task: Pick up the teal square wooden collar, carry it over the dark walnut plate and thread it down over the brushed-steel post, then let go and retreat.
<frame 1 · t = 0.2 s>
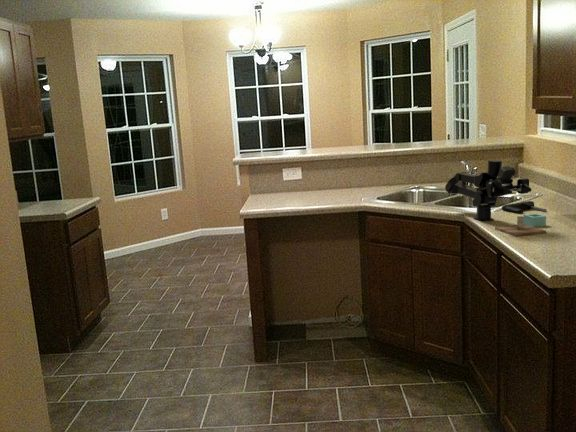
hand: (521, 191, 239), 17 cm above the countertop, tool horizontal, fingers open, 9 cm apart
collar: (534, 224, 253), on the countertop
post plate: (519, 231, 242), on the countertop
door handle: (526, 211, 284), on the countertop
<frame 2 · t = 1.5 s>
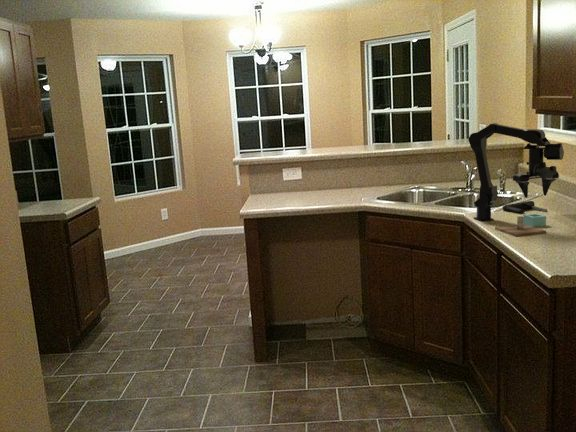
hand: (535, 196, 250), 12 cm above the countertop, tool pointing down, fingers open, 9 cm apart
nothing on the countertop moved.
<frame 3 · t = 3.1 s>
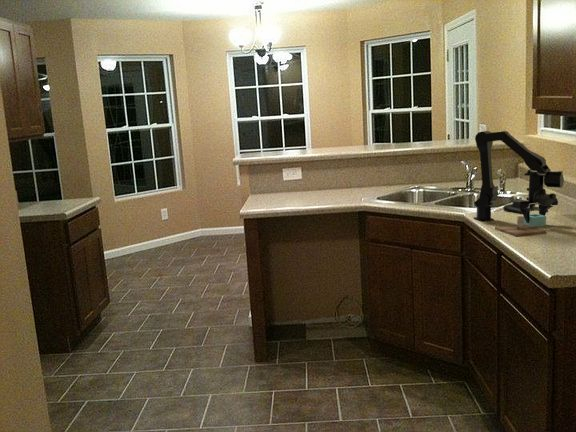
hand: (534, 222, 253), 1 cm above the countertop, tool pointing down, fingers closed on collar, 6 cm apart
collar: (534, 224, 253), on the countertop, touching gripper
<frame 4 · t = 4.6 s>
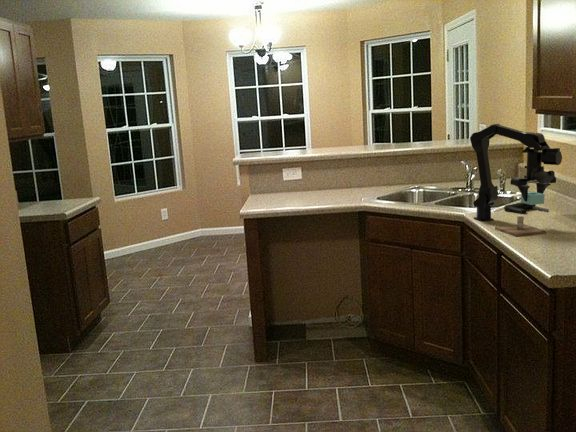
hand: (532, 200, 248), 11 cm above the countertop, tool pointing down, fingers closed on collar, 6 cm apart
collar: (532, 203, 248), point 10 cm above the countertop, touching gripper
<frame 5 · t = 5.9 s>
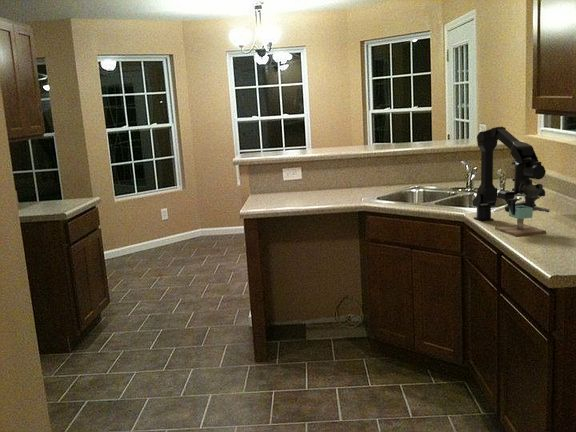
hand: (520, 214, 241), 7 cm above the countertop, tool pointing down, fingers closed on collar, 6 cm apart
collar: (520, 216, 241), point 6 cm above the countertop, touching gripper
when the fingers open (4 cm above the countertop, at t = 6.8 s): collar drops 2 cm, resting on post plate.
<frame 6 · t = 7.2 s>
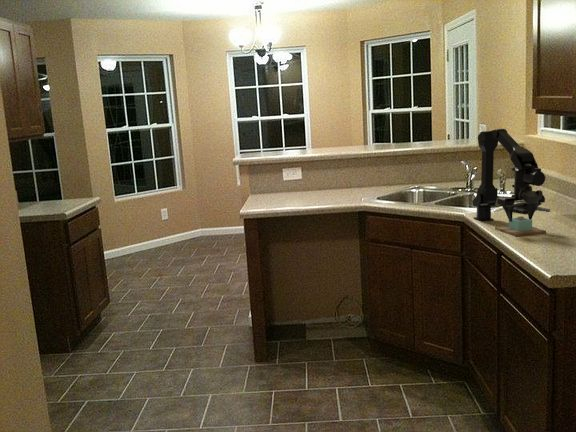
hand: (520, 220, 241), 4 cm above the countertop, tool pointing down, fingers open, 9 cm apart
collar: (520, 228, 242), point 1 cm above the countertop, touching post plate
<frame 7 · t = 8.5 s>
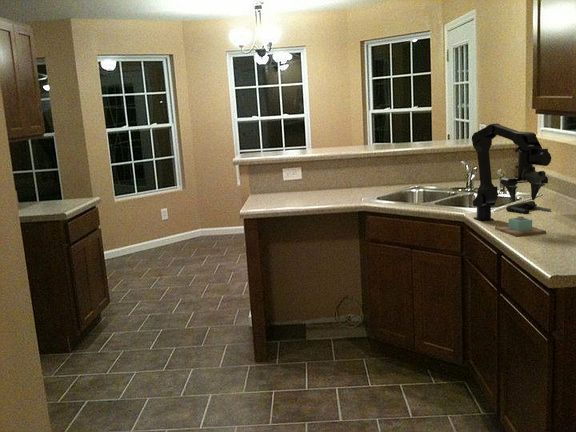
hand: (523, 201, 244), 12 cm above the countertop, tool pointing down, fingers open, 9 cm apart
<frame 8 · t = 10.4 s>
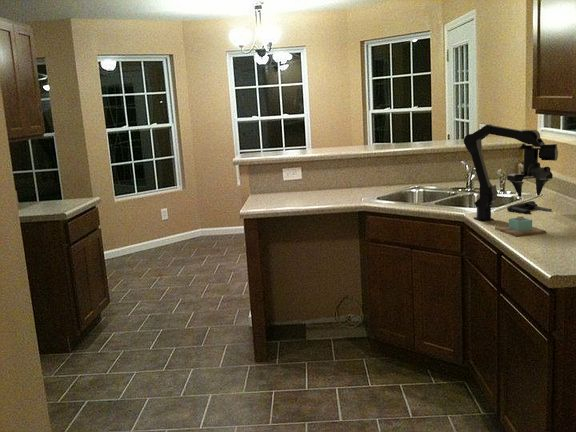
hand: (529, 196, 253), 12 cm above the countertop, tool pointing down, fingers open, 9 cm apart
at the end: collar 0.0 cm off-centre on the post plate, point 1.0 cm above the post plate's base; the gripper is holding nothing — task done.
